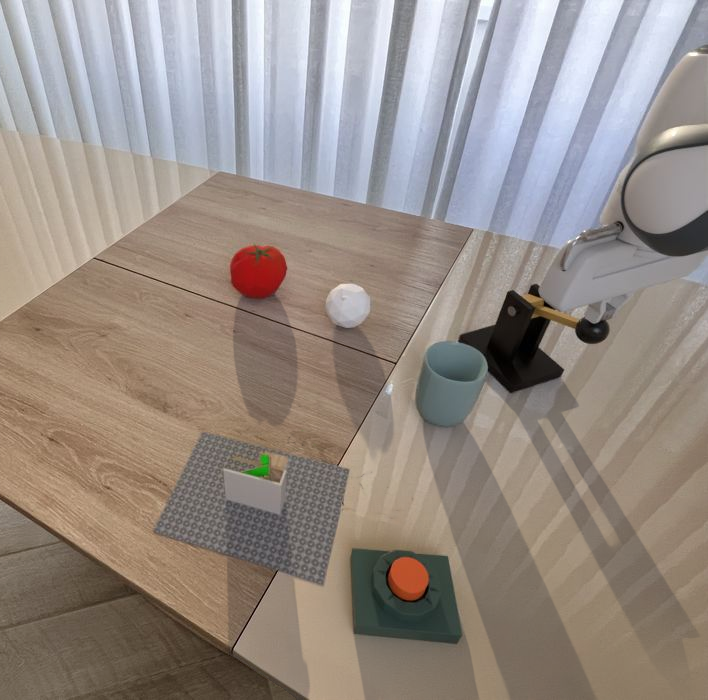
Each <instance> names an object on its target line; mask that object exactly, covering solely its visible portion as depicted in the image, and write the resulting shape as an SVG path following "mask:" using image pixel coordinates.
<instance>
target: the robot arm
mask: <svg viewBox="0 0 708 700" xmlns="http://www.w3.org/2000/svg"><path fill="white" fill-rule="evenodd" d="M599 223H600V226H599V227H596V228H588V229H585V230H583V231H581V233H580V234H579V236H576V237H575V238H571V239H570V240H569V241H567V242H566V243H565V244H564V245H563V246H561V248H560V249H559V251H558V252H557V253H556V255H555V257H554V258H553V260H552V262H551V263H550V266H549V267H548V269H547V270H546V273H545V275H544V277H543V278H542V280H541V283H540V284H539V286H540V287H539V295H540V297H541V298H542V299H543V300H544V301H545V302H546V303H548V304H549V305H550V306H552V307H553V308H554V309H556V311H558V312H561V313H565V312H569V311H572V310H575V309H580V308H582V307H586V306H587V308H586V310H585V312H584V315H583V317H585V318H586V319H587V320H589V321H590V322H591V323H593V324H595V323H598V322H601V321H604V320H606V321H608V320H611V319H614V318H616V316H617V314H618V312H619V310H620V308H622V307H623V306H624V305H626V304H627V302H629V301H630V300H631V299H632V298H633V297H634V296H635V295H636V293H637V292H638V291H641V290H645V289H648V288H652V287H655V286H658V285H662V284H665V283H668V282H671V281H676V280H679V279H682V278H687V277H688V276H690V275H691V274H692V273H694V272H695V271H696V270H697V269H698V268H699V267H700V266H701V265H702V264H703V262H705V260H706V259H707V257H708V44H705V45H702V46H699V47H695V49H693V50H690V51H689V52H687V53H686V54H685V55H684V56H683V57H682V58H681V59H680V60H679V61H678V62H677V64H676V65H675V66H674V67H673V68H672V71H670V73H669V75H668V76H667V78H666V80H665V81H664V83H663V84H662V86H661V87H660V89H659V91H658V93H657V95H656V96H655V98H654V100H653V102H652V104H651V107H650V108H649V109H648V112H647V114H646V116H645V118H644V121H643V123H642V125H641V126H640V129H639V130H638V134H637V136H636V140H635V150H634V152H633V155H632V157H631V159H630V160H629V162H628V163H627V164H626V165H625V167H624V168H623V169H622V170H621V172H620V173H619V175H618V177H617V179H616V181H615V184H614V186H613V188H612V190H611V192H610V195H609V196H608V199H607V201H606V203H605V204H604V207H603V209H602V211H601V214H600V216H599Z"/></svg>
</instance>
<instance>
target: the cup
mask: <svg viewBox="0 0 708 700" xmlns="http://www.w3.org/2000/svg"><path fill="white" fill-rule="evenodd" d="M488 373H489V372H488V364H487V361H486V359H485V357H484V356H483V354H482V353H481V352H479V351H478V350H477V349H475V348H473V347H471V346H469V345H466V344H463V343H459V342H458V341H449V340H445V341H438V342H436V343H435V342H434V343H433V344H431V345H430V346H429V347H428V348H427V349H426V351H425V352H424V355H423V357H422V361H421V364H420V369H419V372H418V375H417V376H418V377H417V380H416V385H415V392H414V393H415V395H414V397H415V399H414V401H415V407H416V410H417V412H418V415H419V416H420V417H421V418H422V419H423V420H424V421H426V422H427V423H428V424H431V425H433V426H436V427H441V428H451V427H456V426H458V425H460V424H462V423H463V422H464V421H466V419H467V418H468V417H469V416H470V415H471V413H472V411H473V410H474V407H475V406H476V403H477V401H478V399H479V397H480V394H481V392H482V389H483V387H484V385H485V382H486V379H487V377H488Z"/></svg>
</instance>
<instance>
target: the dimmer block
mask: <svg viewBox="0 0 708 700" xmlns="http://www.w3.org/2000/svg"><path fill="white" fill-rule="evenodd" d="M403 557H409V558H413V559H415V560H417V561H419V562H420V563H421V564H422V565H423V566H424V567H425V569H426V570H427V573H428V577H429V581H428V585H427V587H426V589H425V592H424V594H423V595H422V596H421V597H420V598H419V599H417V600H413V601H408V600H404V599H401V598H399V597H398V596H396V595H395V594H394V593H393V591H392V590H391V588H390V586H389V583H388V576H389V572H390V569H391V566H392V564H393V563H394V562H395V561H396V560H397V559H399V558H403ZM349 563H350V585H351V608H352V609H351V610H352V611H351V612H352V629H353V630H352V631H353V635H359V636H370V637H381V638H392V639H401V640H402V639H403V640H411V641H412V640H413V641H421V642H422V641H423V642H431V643H433V642H434V643H442V644H443V643H444V644H455V645H458V643H459V642H460V640H461V638H462V637H463V631H462V625H461V620H460V615H459V614H460V613H459V610H458V604H457V598H456V592H455V588H454V582H453V576H452V570H451V565H450V559H449V556H448V555H444V554H443V555H442V554H441V555H440V554H431V553H429V554H428V553H416V552H415V551H412V550H402V549H393V550H380V549H367V548H355V547H352V548H351V552H350V558H349Z"/></svg>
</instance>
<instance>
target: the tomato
mask: <svg viewBox="0 0 708 700" xmlns="http://www.w3.org/2000/svg"><path fill="white" fill-rule="evenodd" d="M287 271H288V265H287V260H286V258H285V256H284V255H283V253H282V252H281V251H280V250H279V249H278V248H277V247H275V246H274V245H265V246H262V245H256V244H255V243H253V245H248V246H245V247H242V248H240V249H239V250H238V251H237V252H236V253H235V254H234V255H233V257H232V259H231V260H230V264H229V272H230V273H229V274H230V283H231V285H232V287H233V288H234V289H235V290H236V291H237V292H238V293H240V294H241V295H243V296H245V297H248V298H254V299H255V298H256V299H265V298H267V297H270V296H271V295H273V294H274V293H276V292H277V291H278V289H279V288H280V286H281V285H282V283H283V281H284V280H285V278H286V275H287Z"/></svg>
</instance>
